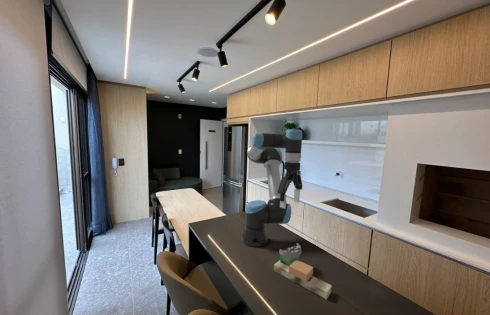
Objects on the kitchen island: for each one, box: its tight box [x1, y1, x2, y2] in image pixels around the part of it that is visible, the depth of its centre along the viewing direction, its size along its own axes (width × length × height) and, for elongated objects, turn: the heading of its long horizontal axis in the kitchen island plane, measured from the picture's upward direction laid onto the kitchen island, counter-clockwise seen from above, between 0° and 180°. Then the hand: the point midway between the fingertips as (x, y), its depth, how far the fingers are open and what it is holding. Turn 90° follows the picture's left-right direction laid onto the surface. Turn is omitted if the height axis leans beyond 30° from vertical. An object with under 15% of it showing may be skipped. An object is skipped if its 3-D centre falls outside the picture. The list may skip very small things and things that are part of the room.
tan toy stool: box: [289, 260, 314, 281], centre depth 86 cm, size 8×6×6 cm
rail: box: [273, 259, 333, 300], centre depth 86 cm, size 24×5×3 cm, turn 48°
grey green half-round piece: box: [278, 242, 302, 265], centre depth 95 cm, size 12×6×10 cm, turn 123°
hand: (289, 204), depth 99 cm, fingers open, 13 cm apart
